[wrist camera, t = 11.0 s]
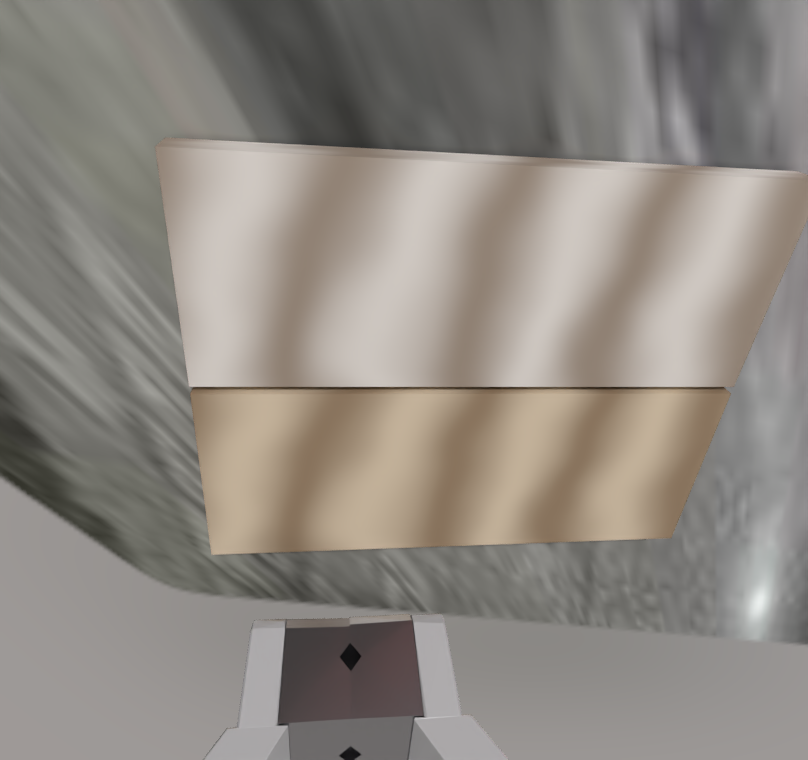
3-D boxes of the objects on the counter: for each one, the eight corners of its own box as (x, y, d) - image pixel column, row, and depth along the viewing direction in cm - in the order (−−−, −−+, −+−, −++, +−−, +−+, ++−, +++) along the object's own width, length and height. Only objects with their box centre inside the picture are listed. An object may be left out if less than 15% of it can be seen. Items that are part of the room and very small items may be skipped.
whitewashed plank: (798, 171, 26) (824, 181, 24) (715, 369, 31) (733, 386, 30) (165, 137, 22) (155, 146, 21) (195, 367, 27) (189, 386, 26)
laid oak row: (713, 377, 31) (730, 393, 30) (658, 518, 36) (671, 538, 35) (196, 376, 28) (190, 394, 26) (216, 532, 33) (211, 554, 31)
